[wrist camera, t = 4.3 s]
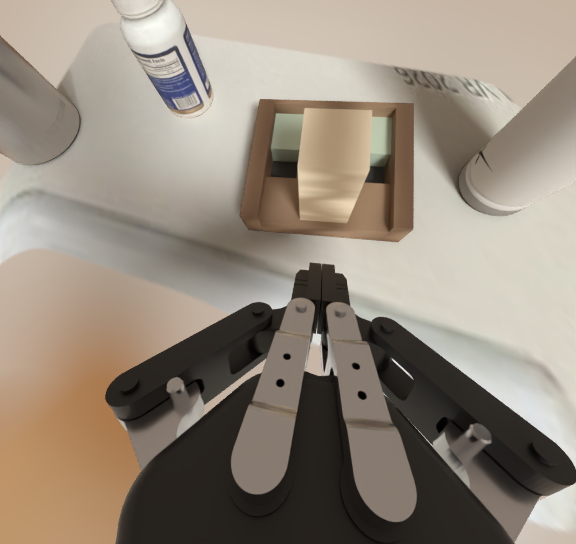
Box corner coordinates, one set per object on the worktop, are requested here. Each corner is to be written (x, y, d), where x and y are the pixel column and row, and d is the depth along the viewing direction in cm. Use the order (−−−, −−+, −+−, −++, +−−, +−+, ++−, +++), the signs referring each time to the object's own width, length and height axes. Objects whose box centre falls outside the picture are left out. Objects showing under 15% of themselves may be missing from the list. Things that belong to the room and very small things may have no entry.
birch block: (299, 219, 20) (297, 165, 13) (304, 178, 21) (304, 108, 14) (346, 223, 19) (369, 170, 13) (349, 181, 20) (372, 110, 13)
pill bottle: (185, 76, 27) (120, -58, 17) (223, 90, 26) (176, -42, 17) (159, 110, 26) (76, -10, 17) (198, 127, 25) (133, 9, 16)
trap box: (248, 229, 22) (239, 215, 19) (265, 125, 25) (259, 99, 22) (398, 242, 21) (413, 228, 18) (399, 131, 23) (413, 103, 20)
